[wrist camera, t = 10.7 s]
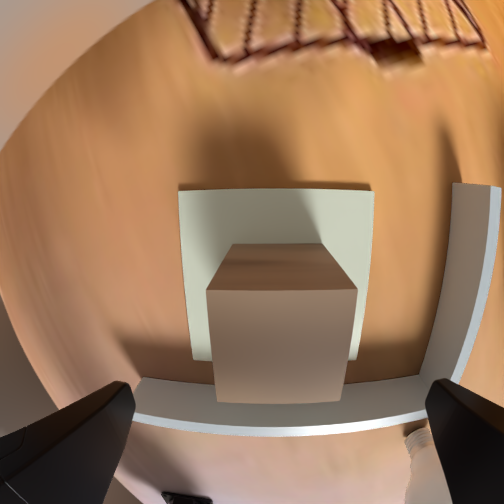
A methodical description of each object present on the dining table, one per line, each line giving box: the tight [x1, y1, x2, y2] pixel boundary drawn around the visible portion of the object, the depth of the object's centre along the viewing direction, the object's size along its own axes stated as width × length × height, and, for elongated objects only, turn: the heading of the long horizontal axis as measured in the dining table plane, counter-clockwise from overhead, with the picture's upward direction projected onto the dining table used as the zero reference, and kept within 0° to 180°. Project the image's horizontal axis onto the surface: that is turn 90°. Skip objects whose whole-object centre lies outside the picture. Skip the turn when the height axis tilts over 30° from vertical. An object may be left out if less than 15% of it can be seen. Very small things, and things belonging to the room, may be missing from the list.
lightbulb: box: [404, 428, 453, 504], centre depth 15 cm, size 6×6×11 cm
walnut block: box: [206, 243, 358, 404], centre depth 13 cm, size 5×5×7 cm
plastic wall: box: [132, 182, 501, 437], centre depth 15 cm, size 16×22×4 cm
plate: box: [178, 188, 374, 361], centre depth 17 cm, size 11×11×1 cm
